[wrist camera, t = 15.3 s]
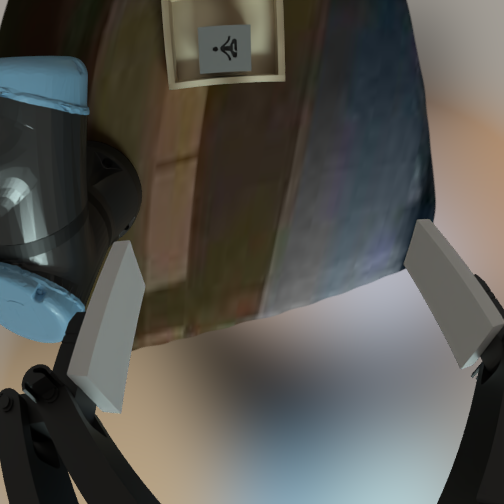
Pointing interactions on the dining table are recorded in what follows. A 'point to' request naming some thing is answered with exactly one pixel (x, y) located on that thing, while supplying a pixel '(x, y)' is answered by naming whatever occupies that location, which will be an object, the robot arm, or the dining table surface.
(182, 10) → the trough
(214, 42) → the dice cube
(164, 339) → the dining table surface
